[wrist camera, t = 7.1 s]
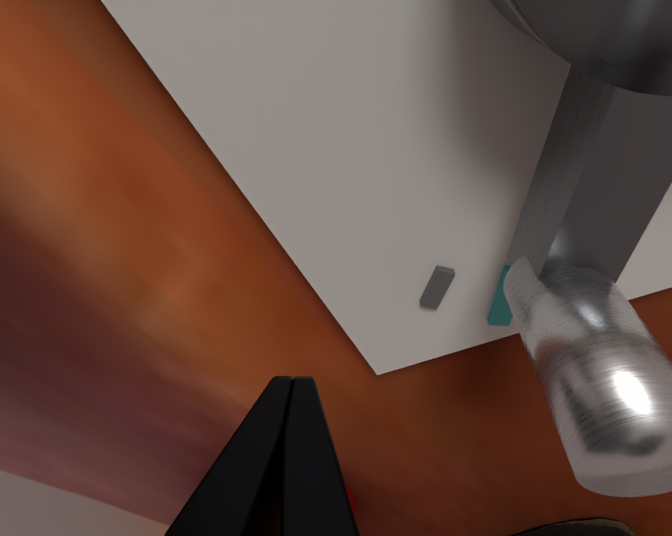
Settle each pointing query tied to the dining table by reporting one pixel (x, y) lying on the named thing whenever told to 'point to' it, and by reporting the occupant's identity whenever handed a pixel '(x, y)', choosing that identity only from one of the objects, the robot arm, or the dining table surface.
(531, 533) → the pine cone
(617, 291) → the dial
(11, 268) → the dining table surface
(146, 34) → the stand board
